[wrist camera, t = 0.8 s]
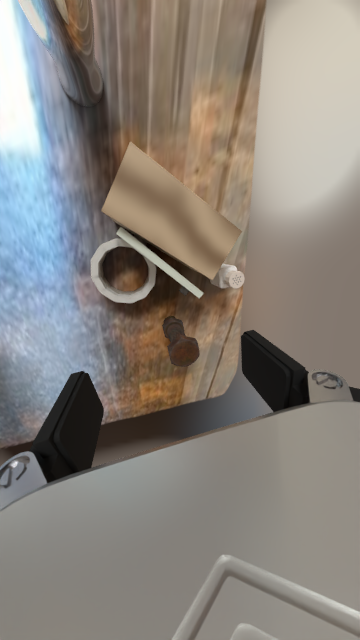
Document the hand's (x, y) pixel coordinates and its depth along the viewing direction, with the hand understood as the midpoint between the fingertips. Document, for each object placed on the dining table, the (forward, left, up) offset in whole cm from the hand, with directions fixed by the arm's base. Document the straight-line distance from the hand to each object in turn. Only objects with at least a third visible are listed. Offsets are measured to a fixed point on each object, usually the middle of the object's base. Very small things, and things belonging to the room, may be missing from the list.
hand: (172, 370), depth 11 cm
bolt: (-6, -9, -32) cm, 34 cm away
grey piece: (0, +1, -29) cm, 29 cm away
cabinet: (+5, +1, -32) cm, 32 cm away
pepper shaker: (+9, -13, -32) cm, 36 cm away
